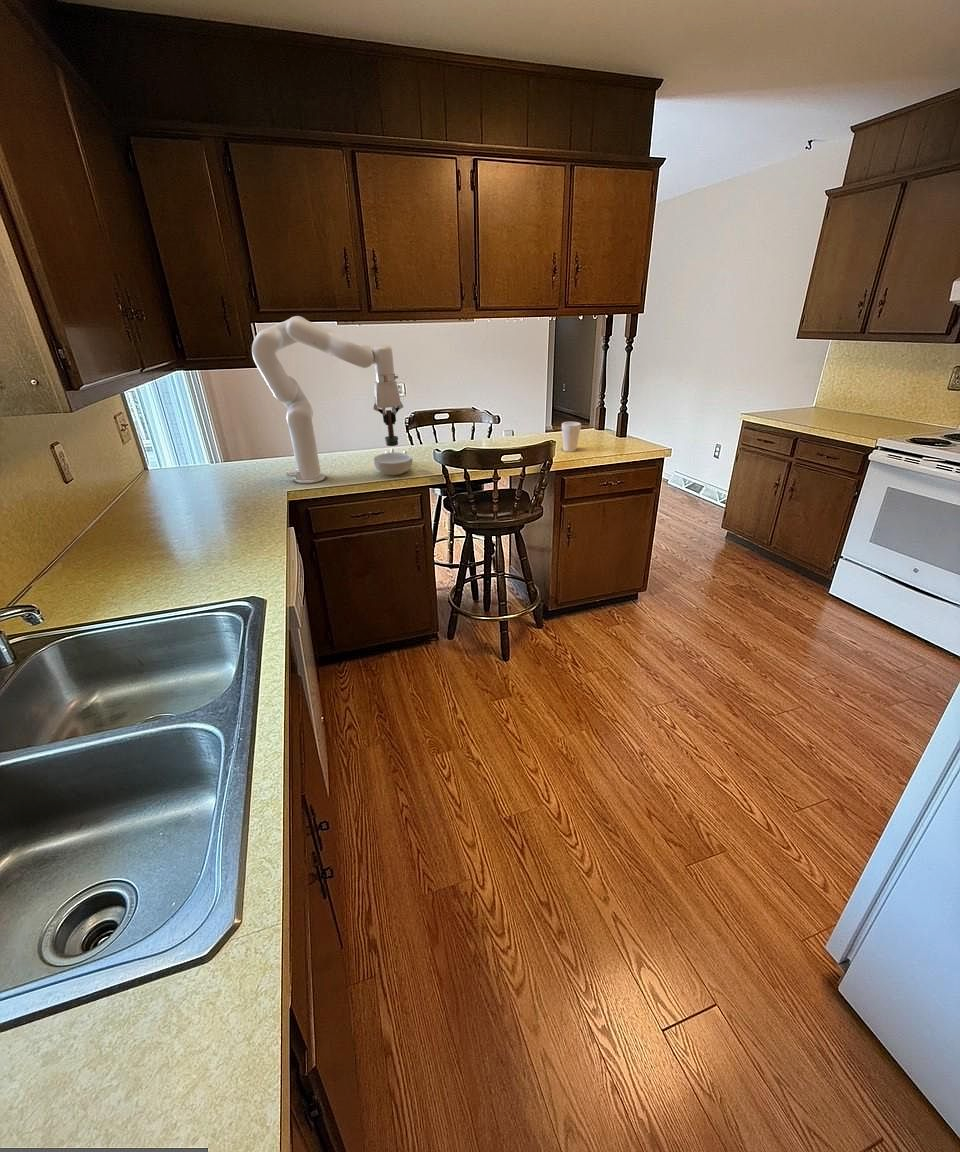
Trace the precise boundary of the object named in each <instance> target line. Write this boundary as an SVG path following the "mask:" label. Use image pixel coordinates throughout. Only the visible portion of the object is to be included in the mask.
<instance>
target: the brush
mask: <svg viewBox="0 0 960 1152" xmlns="http://www.w3.org/2000/svg"><path fill="white" fill-rule="evenodd" d="M385 411H386V415H387V420H388V425H386V426H387V434H388V435H387V436H385V437H384V441H385V445H386V446H387V447H396V446H399V437H398V436H397V435H395V433H394V431H395V430H394V424H393V420H392V409H387V410H386V409H385Z"/></svg>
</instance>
